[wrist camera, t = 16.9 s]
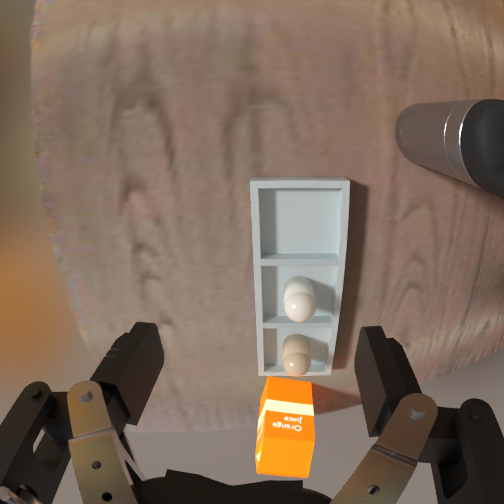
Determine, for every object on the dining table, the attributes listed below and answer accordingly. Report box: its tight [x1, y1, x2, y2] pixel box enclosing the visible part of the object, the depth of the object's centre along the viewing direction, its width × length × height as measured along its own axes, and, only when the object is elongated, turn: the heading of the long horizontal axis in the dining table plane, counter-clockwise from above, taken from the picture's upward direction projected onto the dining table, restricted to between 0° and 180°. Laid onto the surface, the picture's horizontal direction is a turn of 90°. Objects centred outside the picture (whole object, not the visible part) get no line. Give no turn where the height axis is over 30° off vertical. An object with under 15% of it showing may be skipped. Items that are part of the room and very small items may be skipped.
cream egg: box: [284, 276, 316, 322], centre depth 43 cm, size 5×5×7 cm
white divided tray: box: [250, 177, 350, 376], centre depth 46 cm, size 13×34×3 cm, turn 2°
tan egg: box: [282, 334, 311, 377], centre depth 48 cm, size 5×5×7 cm
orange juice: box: [255, 376, 315, 477], centre depth 48 cm, size 8×9×20 cm
